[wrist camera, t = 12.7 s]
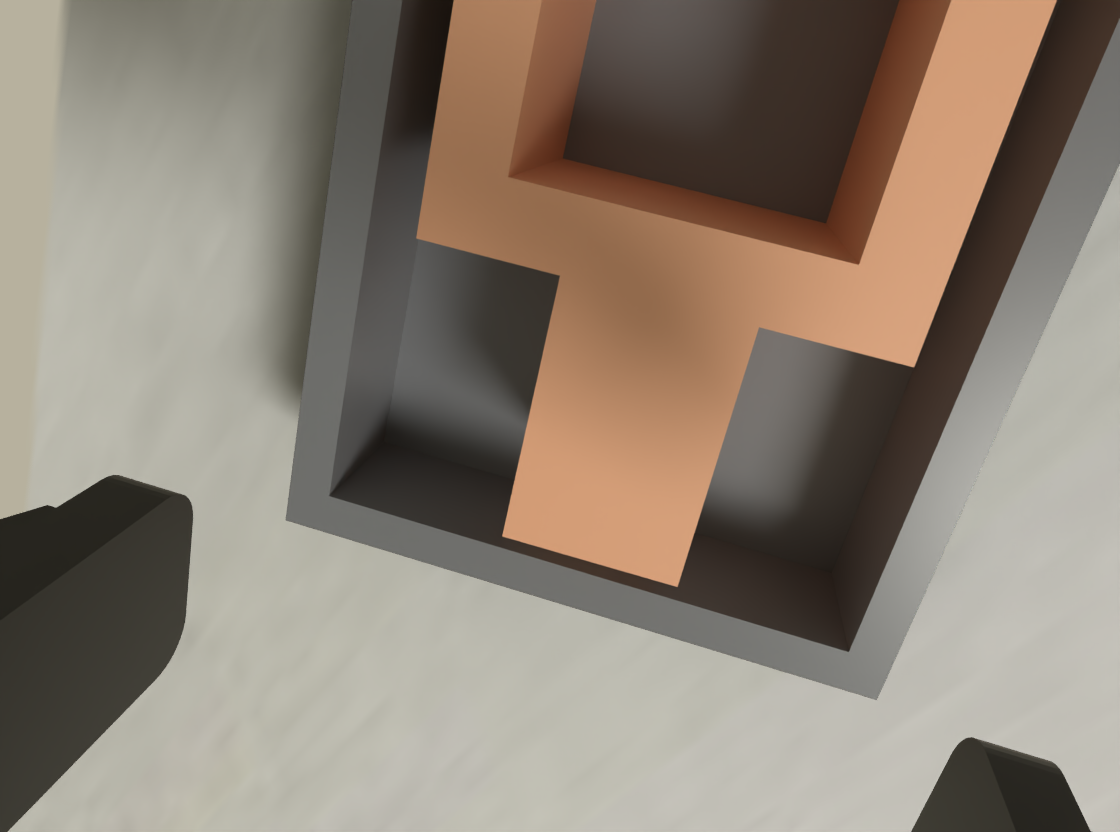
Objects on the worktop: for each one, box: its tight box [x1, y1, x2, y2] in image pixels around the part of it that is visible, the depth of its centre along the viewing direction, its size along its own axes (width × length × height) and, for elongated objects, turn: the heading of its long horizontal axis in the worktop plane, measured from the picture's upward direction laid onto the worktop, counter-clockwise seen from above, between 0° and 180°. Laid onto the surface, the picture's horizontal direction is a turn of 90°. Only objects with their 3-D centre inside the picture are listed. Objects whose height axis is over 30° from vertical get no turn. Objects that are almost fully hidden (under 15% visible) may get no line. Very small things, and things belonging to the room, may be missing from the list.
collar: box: [416, 0, 1057, 587], centre depth 14 cm, size 12×8×4 cm, turn 167°
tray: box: [286, 0, 1120, 700], centre depth 15 cm, size 16×12×4 cm
